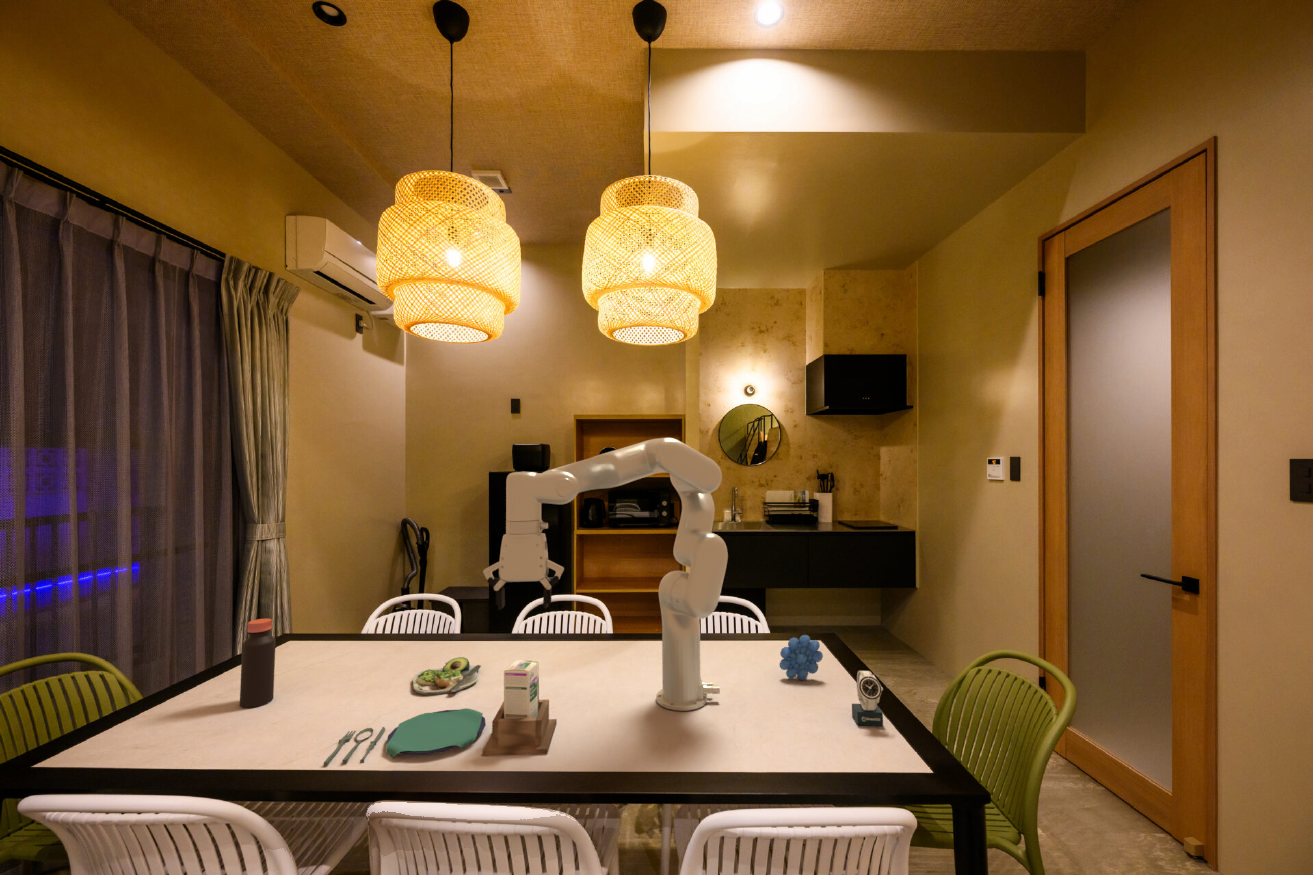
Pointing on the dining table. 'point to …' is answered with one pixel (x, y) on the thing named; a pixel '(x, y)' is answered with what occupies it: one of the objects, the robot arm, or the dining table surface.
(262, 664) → the bottle
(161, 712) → the dining table surface
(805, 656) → the blue knobbly flower shape
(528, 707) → the syrup box
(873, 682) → the watch
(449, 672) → the avocado toast plate
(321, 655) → the dining table surface
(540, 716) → the walnut holder
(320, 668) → the dining table surface
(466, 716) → the cutlery set
